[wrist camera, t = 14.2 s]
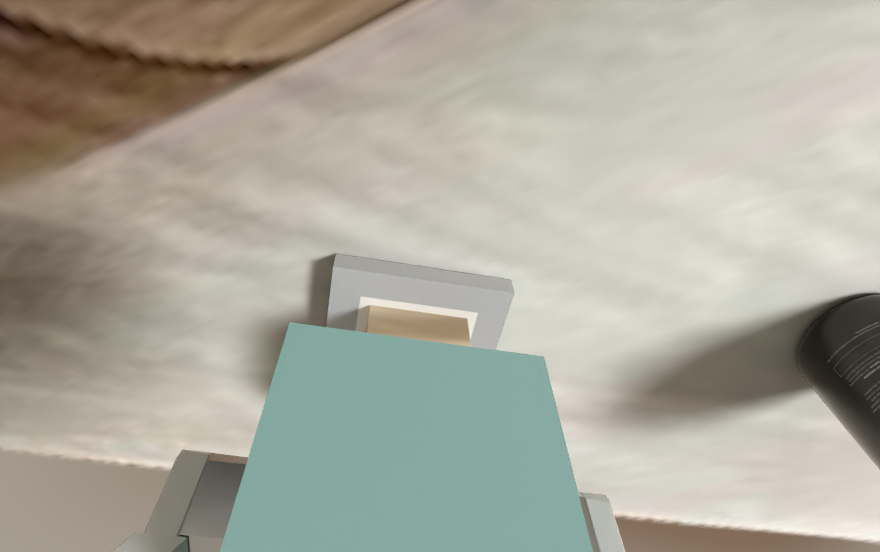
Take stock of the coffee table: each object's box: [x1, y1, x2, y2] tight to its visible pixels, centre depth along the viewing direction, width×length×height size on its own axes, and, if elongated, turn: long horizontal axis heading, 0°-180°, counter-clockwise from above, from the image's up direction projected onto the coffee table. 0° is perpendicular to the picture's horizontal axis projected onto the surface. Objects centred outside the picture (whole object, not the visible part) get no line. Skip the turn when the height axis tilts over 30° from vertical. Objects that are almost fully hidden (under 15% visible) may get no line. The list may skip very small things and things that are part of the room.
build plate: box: [326, 254, 514, 350], centre depth 31 cm, size 9×9×1 cm
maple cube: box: [366, 305, 471, 347], centre depth 28 cm, size 5×5×5 cm
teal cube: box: [220, 322, 593, 552], centre depth 11 cm, size 5×5×5 cm
